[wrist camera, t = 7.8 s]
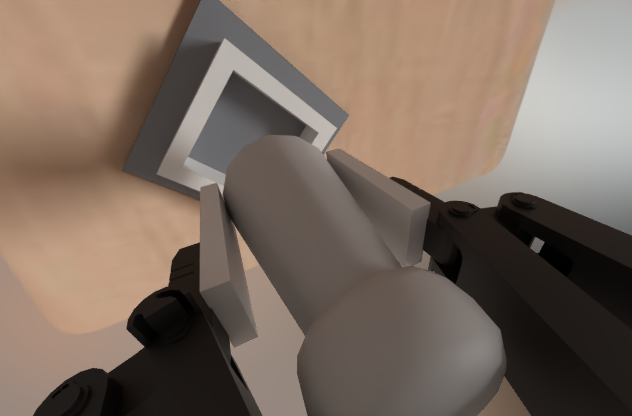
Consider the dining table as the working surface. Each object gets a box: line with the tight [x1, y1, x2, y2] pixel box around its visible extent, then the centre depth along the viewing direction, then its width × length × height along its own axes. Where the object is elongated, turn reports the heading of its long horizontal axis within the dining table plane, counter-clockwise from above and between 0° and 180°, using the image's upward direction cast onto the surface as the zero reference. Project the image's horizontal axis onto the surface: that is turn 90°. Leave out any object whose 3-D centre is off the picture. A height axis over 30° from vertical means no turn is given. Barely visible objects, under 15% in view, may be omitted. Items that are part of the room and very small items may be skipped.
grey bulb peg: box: [223, 135, 507, 416], centre depth 9 cm, size 6×6×13 cm
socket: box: [123, 0, 349, 202], centre depth 20 cm, size 14×14×4 cm
